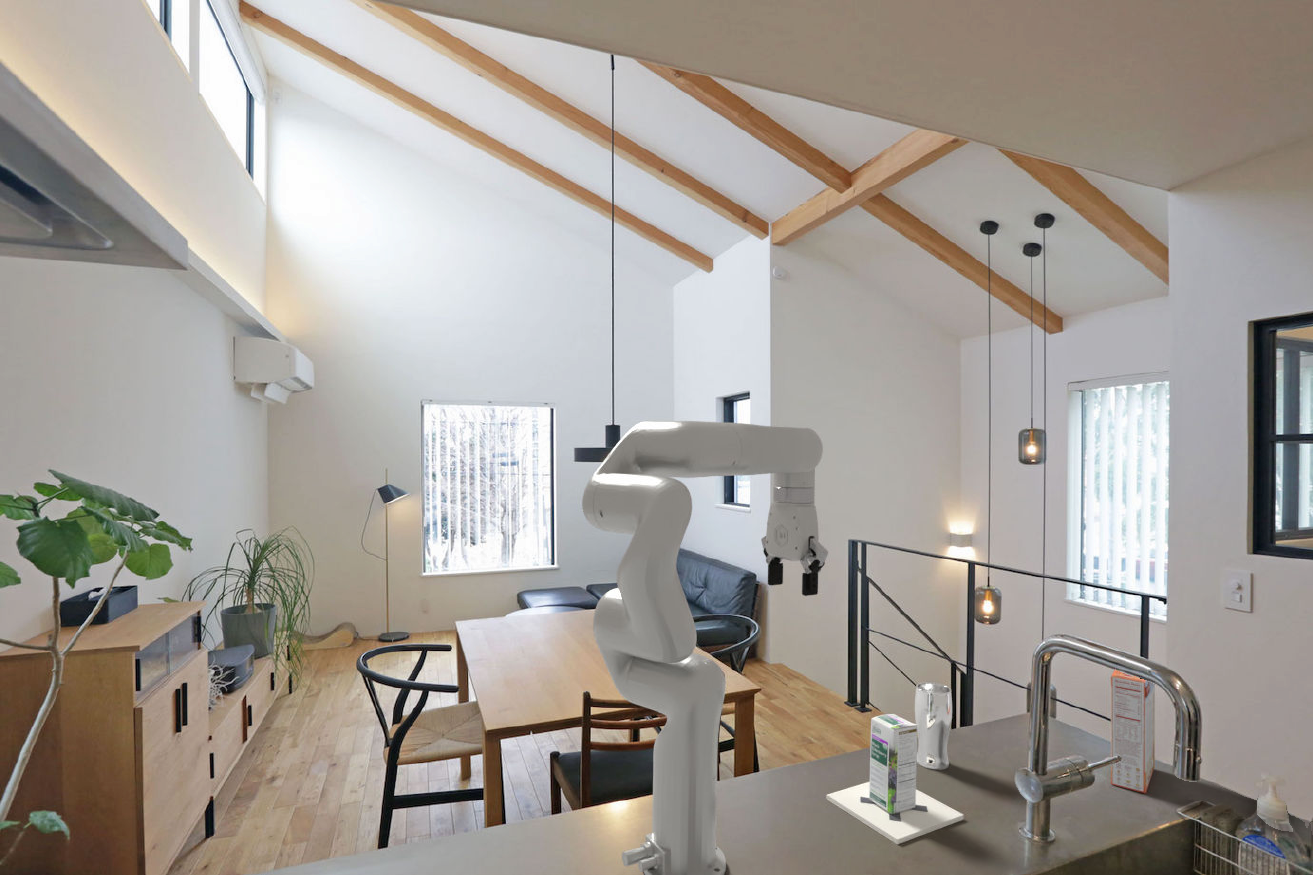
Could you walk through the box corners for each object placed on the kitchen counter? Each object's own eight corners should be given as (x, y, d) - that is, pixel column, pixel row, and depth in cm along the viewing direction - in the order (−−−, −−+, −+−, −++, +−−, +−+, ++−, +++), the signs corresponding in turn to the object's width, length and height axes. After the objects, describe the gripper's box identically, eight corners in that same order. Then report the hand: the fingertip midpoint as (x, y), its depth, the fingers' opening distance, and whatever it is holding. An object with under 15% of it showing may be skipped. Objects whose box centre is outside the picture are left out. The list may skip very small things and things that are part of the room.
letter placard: (897, 844, 113) (897, 838, 113) (826, 799, 127) (826, 794, 127) (963, 819, 121) (963, 814, 121) (890, 779, 135) (890, 774, 135)
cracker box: (1119, 759, 145) (1121, 657, 145) (1155, 769, 141) (1157, 663, 141) (1107, 784, 134) (1109, 673, 134) (1146, 795, 130) (1148, 680, 130)
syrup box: (867, 799, 125) (869, 717, 125) (892, 792, 128) (894, 711, 128) (891, 815, 120) (893, 729, 120) (917, 808, 123) (918, 723, 123)
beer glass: (954, 772, 138) (955, 695, 138) (916, 768, 139) (917, 692, 139) (947, 757, 145) (948, 683, 145) (911, 753, 146) (912, 680, 146)
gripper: (749, 493, 137) (747, 582, 137) (809, 501, 122) (808, 601, 122) (779, 492, 141) (778, 579, 141) (842, 500, 126) (840, 597, 126)
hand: (792, 589), depth 131 cm, fingers open, 9 cm apart
